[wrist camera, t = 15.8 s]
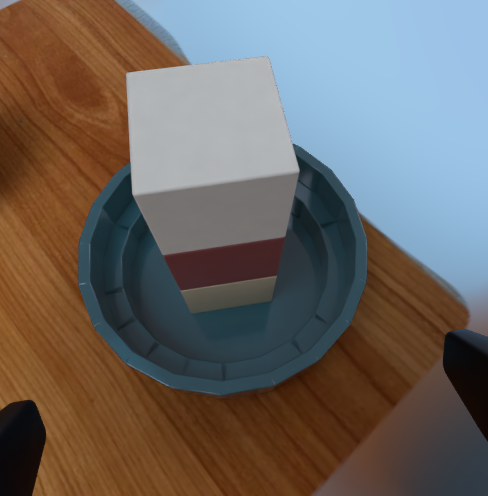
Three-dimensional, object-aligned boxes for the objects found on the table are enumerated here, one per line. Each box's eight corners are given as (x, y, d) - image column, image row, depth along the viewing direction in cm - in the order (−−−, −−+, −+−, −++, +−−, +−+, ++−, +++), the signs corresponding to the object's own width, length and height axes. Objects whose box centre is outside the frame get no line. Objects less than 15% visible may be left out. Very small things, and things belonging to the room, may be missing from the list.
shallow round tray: (393, 270, 23) (425, 237, 19) (226, 462, 19) (221, 474, 15) (227, 140, 27) (224, 90, 23) (60, 275, 23) (20, 243, 19)
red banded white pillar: (271, 301, 22) (301, 171, 10) (191, 314, 22) (131, 194, 10) (257, 230, 24) (269, 54, 12) (183, 241, 23) (125, 71, 12)
